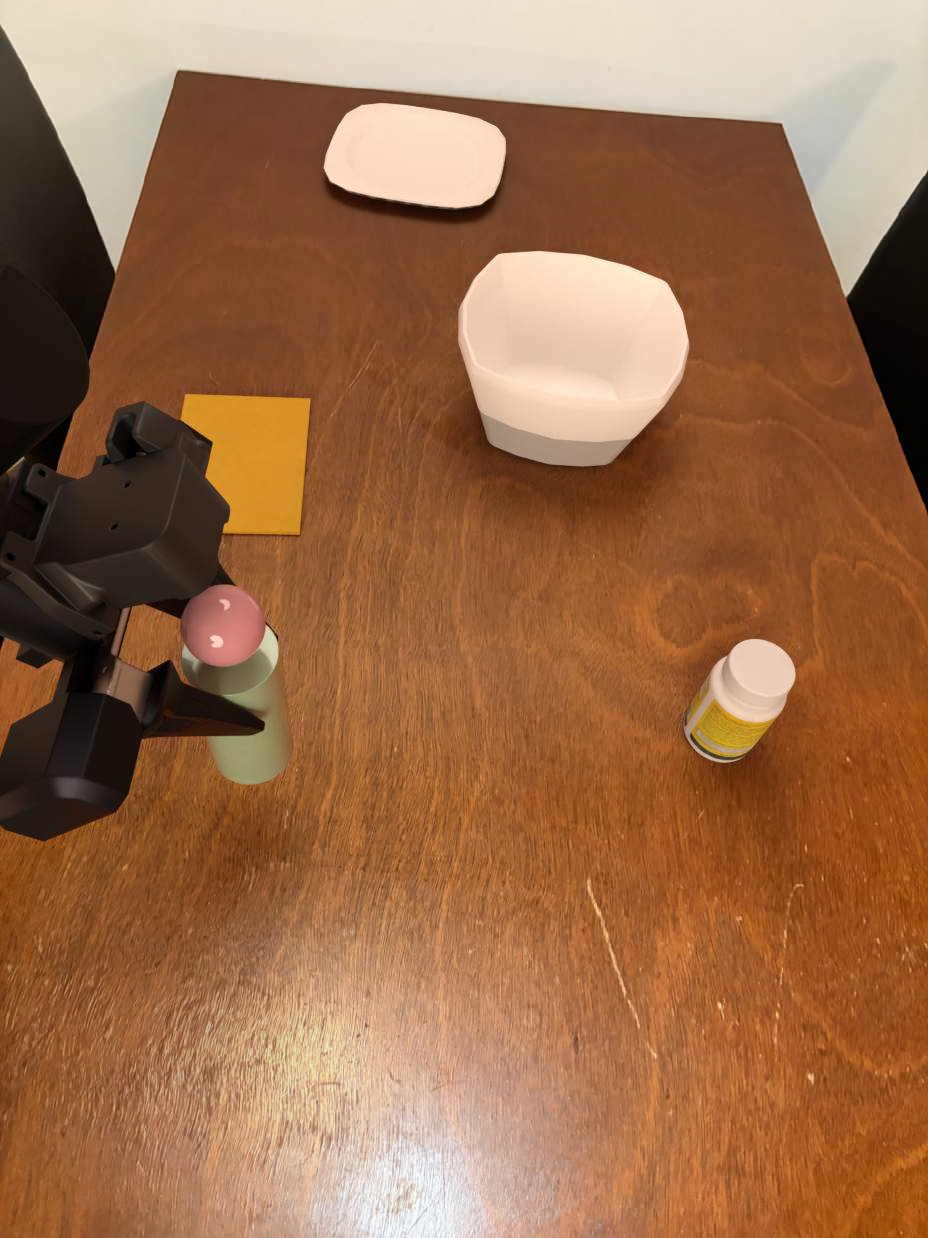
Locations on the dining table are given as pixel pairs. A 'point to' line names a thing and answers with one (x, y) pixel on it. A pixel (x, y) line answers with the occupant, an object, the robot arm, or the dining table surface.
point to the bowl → (569, 354)
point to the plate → (416, 156)
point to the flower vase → (239, 679)
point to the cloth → (255, 457)
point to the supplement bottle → (739, 700)
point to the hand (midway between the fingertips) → (266, 686)
